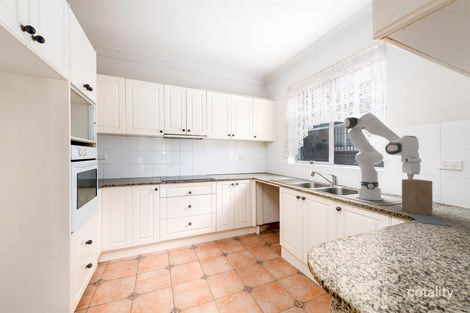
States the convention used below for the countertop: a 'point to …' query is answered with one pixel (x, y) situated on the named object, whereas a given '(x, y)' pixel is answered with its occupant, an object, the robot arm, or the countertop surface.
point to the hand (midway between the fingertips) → (410, 180)
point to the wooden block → (417, 196)
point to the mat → (429, 219)
